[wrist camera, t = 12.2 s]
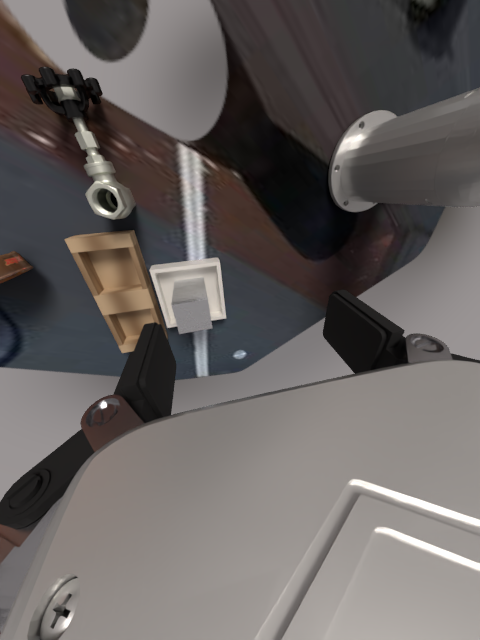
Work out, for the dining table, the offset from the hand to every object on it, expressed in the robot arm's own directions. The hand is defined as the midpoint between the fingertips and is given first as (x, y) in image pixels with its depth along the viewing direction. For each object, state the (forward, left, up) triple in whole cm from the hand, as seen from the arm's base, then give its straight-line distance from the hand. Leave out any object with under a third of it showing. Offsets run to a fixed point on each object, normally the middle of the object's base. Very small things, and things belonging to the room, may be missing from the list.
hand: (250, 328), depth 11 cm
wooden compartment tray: (+15, +8, -26) cm, 31 cm away
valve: (+12, -10, -27) cm, 31 cm away
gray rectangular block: (+4, +9, -26) cm, 28 cm away
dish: (+4, +9, -26) cm, 28 cm away
